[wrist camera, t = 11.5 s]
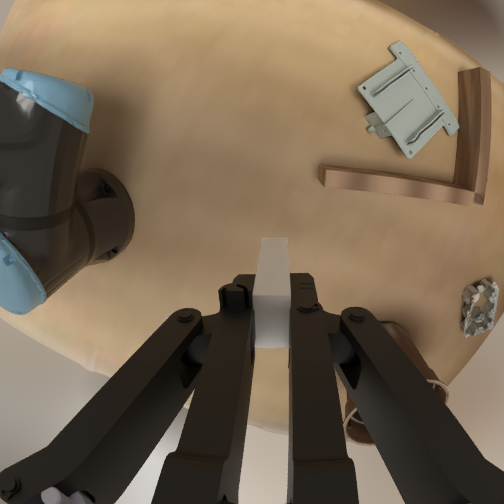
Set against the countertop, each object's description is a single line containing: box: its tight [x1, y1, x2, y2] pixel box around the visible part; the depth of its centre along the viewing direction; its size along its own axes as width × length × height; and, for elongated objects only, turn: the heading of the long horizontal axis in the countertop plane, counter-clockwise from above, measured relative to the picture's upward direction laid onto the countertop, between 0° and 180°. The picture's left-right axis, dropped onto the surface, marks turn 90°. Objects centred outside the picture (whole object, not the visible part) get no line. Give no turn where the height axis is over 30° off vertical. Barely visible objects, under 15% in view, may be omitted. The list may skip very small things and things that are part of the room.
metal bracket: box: [358, 41, 459, 159], centre depth 31 cm, size 14×6×15 cm
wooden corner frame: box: [319, 67, 491, 208], centre depth 30 cm, size 23×20×6 cm
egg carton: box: [461, 279, 499, 338], centre depth 40 cm, size 11×8×4 cm
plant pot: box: [343, 322, 449, 446], centre depth 40 cm, size 16×16×16 cm
